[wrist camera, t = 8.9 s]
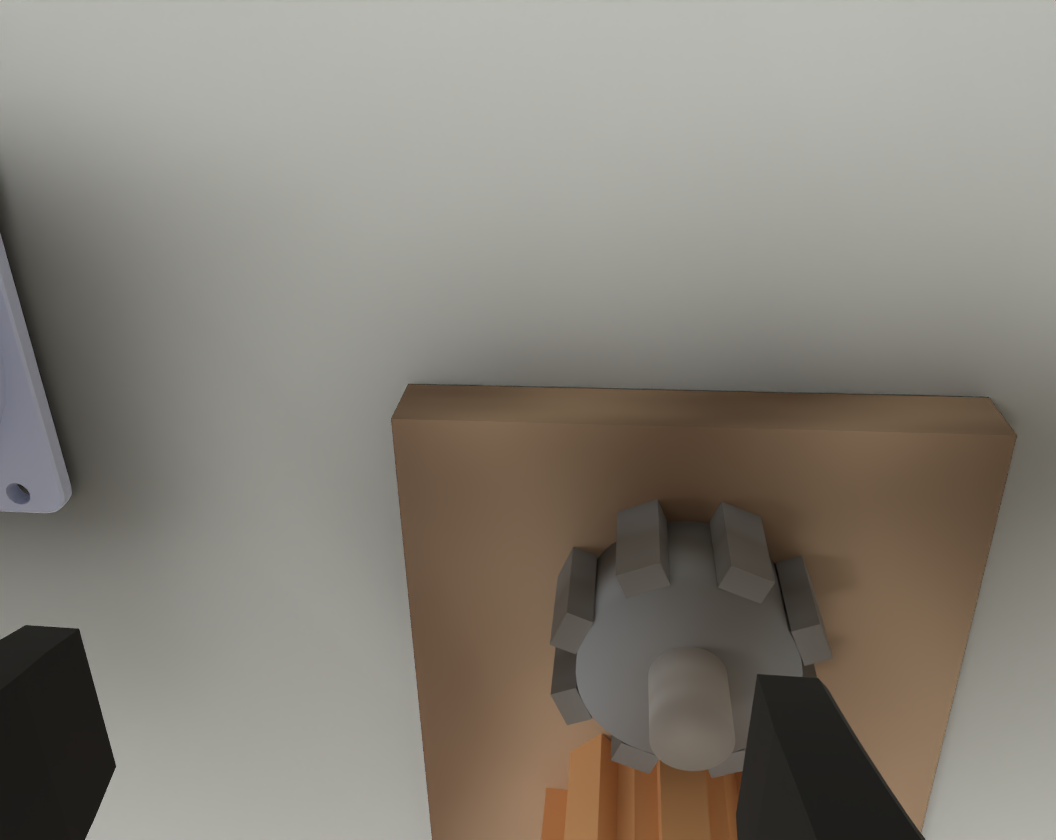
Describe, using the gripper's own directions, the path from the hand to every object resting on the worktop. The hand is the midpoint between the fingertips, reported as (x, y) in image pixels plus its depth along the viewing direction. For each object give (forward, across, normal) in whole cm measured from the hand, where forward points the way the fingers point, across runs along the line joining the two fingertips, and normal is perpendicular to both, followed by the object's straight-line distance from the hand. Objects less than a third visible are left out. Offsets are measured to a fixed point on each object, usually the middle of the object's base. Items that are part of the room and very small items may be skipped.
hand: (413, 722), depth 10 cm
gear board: (+9, -4, +10) cm, 14 cm away
